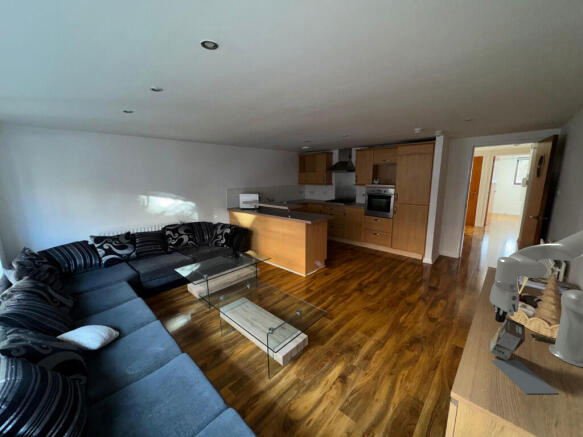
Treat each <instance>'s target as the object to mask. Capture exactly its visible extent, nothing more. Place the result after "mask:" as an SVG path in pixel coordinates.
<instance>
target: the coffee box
mask: <svg viewBox="0 0 583 437" xmlns="http://www.w3.org/2000/svg"><path fill="white" fill-rule="evenodd" d="M525 328H526V327H525V325H524V324H523V323H520V322H518V321H516V320H513V319H510V318H507V317H506V319H505V321H504V322H502V324H501V325H500V326H499V328H498V329H497V330H496V332H495V333H494V334H493V336H492V337H491V338H490V348H489V353H490V354H493V355H494V356H497V357H499V358H500V359H501V360H510V357H512V356H513V354H514V353H515V352H516V351H517V350H518V349H519V348H520V347H521V345H523V343H524V342H525V341H526V334H525V332H526V331H525V330H526V329H525Z"/></svg>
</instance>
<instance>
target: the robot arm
mask: <svg viewBox="0 0 583 437" xmlns="http://www.w3.org/2000/svg"><path fill="white" fill-rule="evenodd" d="M581 257H583V229H582V230H580V231H578V232H576V233H573V234H571V235H569V236H566V237H564V238H562V239H560V240H558V241H554V242H551V243H542V244H537V245H531V246H527V247H524V248H522V249H520V250H516V251H515V252H513V253H512V254H510V255H509V256H500V257H498V259H497V261H496V269H495V276H494V282H493V284H492V287H491V290H490V293H489V294H490V295H489V302H490V304H491V305H492V306H493V307H494V312H495V319H494V320H495V321H496V322H497V323H503V322H504V321H505V320H506V318H507V316H509V317H515V313H518V311H519V307H520V297H519V296H520V295H519V287H518V284H519V279H520V277H526V278H529V279H531V278H532V279H540V278H542V277H545V275H547V273H548V268H547V267H546V265H545V264H543V263H542V262H540V261H541V260H553V261H554V260H555V261H574V260H576V259H578V258H581ZM560 304H561V305H560V307H561V315H560V319H559V325H558V328H557V332H556V338H555V344H550V345H549V347H548V349H549V352H550V353H551V354H552V355H553V357H555V358H557V359H560V360H561V361H563V362H565V363H567V364H570V365H573V366H576V367H579V368H583V291H582V290H579V289H569V290H566V291H564V292H563V293H562V295H561V297H560Z"/></svg>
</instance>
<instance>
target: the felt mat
mask: <svg viewBox="0 0 583 437" xmlns="http://www.w3.org/2000/svg"><path fill="white" fill-rule="evenodd" d="M490 361H491V362H492V363H493V364H494V365H495V366H496V367H497V368H498V369H499V370H500V371H501V372H503V374H504V375H505V376H507V377H508V378H509V380H511V381H512V382H513V383H514V384H515V385H516V386H518V388H519V389H521V390H522V391H523V392H524V393H525V394H526V395H558V394H559V392H558V391H557V390H556V389H554V388H553V387H552V386H550V385H549V384H548V383H547V382H546V381H544V379H542V378H541V377H539V376H538V375H537V374H536V373H535V372H533V371H532V370H531V369H530V368H528V366H527V365H525V364H524V363H522V362H521V361H520V359H508V360H504V359H501V360H500V359H497V360H496V359H495V360H493V359H491V360H490Z"/></svg>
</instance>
